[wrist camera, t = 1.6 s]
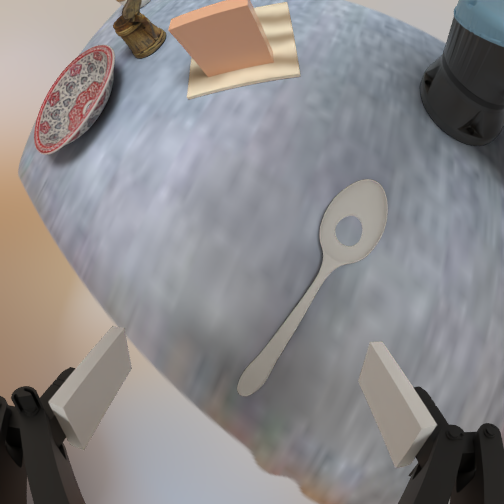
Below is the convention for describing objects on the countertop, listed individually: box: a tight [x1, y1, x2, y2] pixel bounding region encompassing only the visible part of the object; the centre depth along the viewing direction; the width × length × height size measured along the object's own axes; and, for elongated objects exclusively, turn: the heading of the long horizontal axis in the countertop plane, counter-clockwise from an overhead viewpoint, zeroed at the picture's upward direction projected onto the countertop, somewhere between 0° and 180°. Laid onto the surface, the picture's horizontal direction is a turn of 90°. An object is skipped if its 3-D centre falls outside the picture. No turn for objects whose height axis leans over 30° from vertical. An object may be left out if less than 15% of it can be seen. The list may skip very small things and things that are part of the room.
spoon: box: [237, 179, 388, 397], centre depth 37 cm, size 35×8×3 cm, turn 147°
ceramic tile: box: [169, 0, 274, 77], centre depth 35 cm, size 3×12×14 cm, turn 91°
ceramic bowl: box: [34, 45, 115, 155], centre depth 51 cm, size 29×29×8 cm
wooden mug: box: [113, 0, 166, 58], centre depth 42 cm, size 9×14×18 cm, turn 62°
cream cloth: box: [187, 2, 301, 100], centre depth 43 cm, size 22×20×1 cm
